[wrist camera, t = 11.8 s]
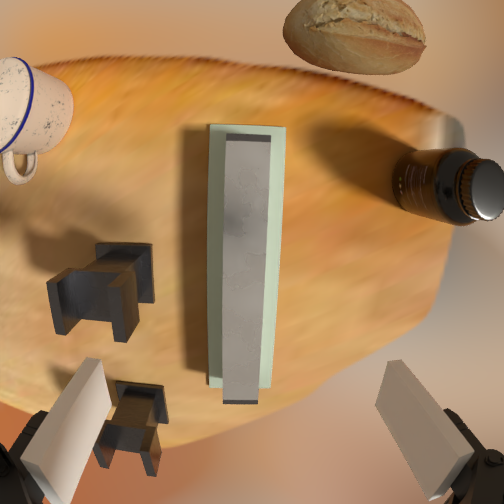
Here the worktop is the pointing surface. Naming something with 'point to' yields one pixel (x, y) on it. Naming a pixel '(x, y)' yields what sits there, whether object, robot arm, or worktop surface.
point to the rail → (244, 263)
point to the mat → (216, 246)
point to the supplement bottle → (449, 186)
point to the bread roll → (355, 35)
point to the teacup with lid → (30, 115)
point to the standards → (116, 340)
